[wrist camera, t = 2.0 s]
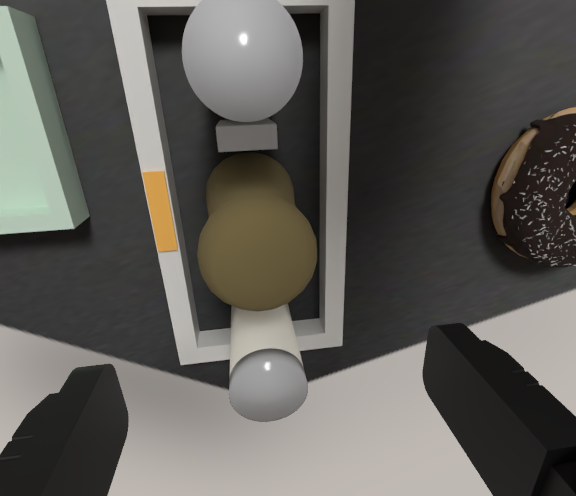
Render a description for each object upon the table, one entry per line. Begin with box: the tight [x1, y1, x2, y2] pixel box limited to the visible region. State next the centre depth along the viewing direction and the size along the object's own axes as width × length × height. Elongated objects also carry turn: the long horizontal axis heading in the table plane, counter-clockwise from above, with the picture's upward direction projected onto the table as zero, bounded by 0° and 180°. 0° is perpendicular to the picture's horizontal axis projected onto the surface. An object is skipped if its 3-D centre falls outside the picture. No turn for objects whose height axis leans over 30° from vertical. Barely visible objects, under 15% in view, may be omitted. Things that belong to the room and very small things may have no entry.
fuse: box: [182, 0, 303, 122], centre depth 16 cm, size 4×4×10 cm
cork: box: [197, 152, 317, 311], centre depth 19 cm, size 6×6×11 cm
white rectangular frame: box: [106, 0, 355, 365], centre depth 21 cm, size 24×12×5 cm, turn 2°
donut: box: [491, 107, 576, 267], centre depth 25 cm, size 11×12×4 cm
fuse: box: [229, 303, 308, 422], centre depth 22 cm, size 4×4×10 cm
